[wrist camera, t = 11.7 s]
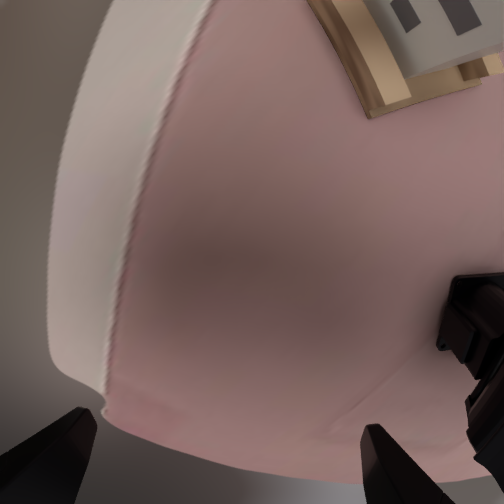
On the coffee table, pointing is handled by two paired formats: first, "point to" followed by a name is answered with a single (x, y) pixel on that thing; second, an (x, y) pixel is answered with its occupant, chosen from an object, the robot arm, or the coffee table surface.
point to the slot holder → (388, 61)
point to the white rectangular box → (438, 31)
